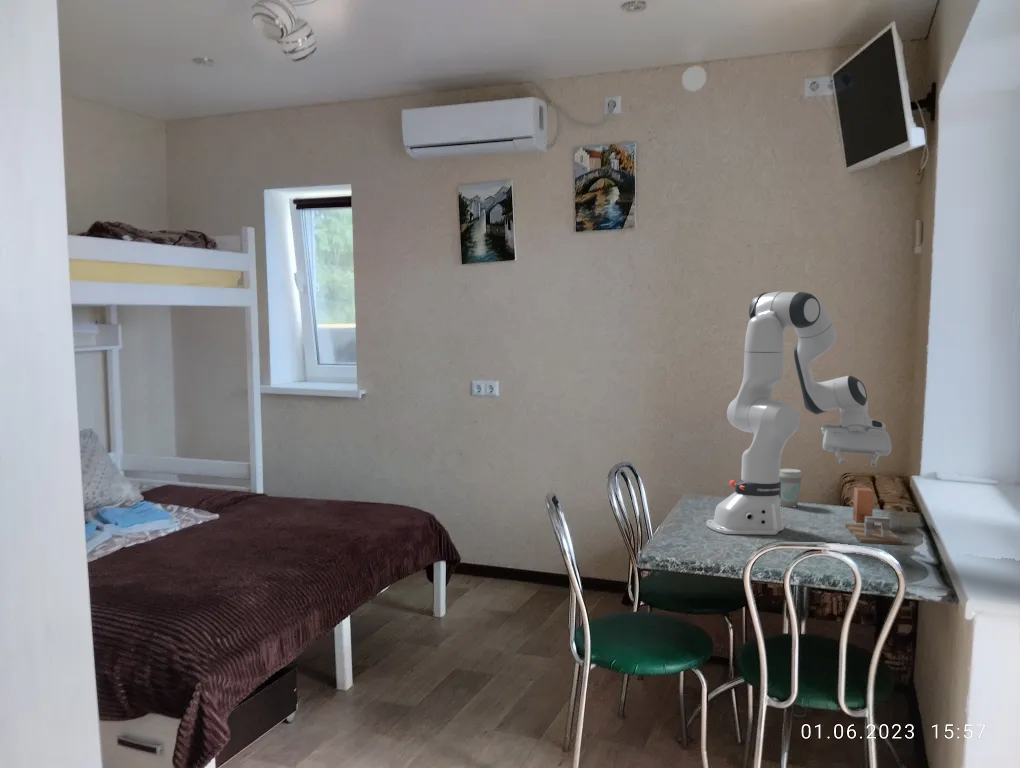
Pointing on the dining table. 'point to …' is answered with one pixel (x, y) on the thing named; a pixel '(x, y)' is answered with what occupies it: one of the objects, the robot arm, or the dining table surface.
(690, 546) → the dining table surface
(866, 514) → the orange brown upright block
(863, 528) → the eye board
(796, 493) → the coffee cup
